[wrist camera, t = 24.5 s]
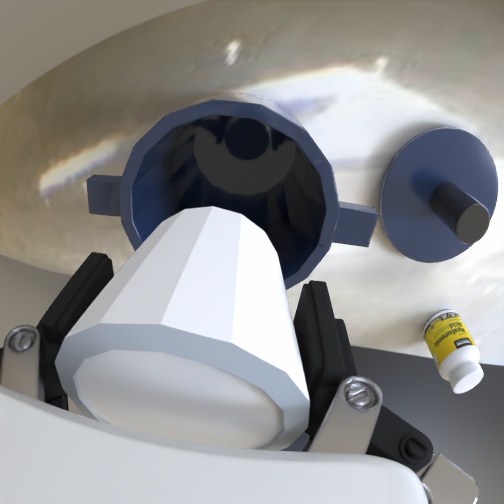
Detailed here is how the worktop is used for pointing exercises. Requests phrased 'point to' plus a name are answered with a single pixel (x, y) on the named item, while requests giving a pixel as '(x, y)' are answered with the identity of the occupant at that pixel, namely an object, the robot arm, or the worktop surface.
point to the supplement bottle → (453, 350)
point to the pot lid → (438, 194)
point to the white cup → (193, 339)
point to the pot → (236, 180)
